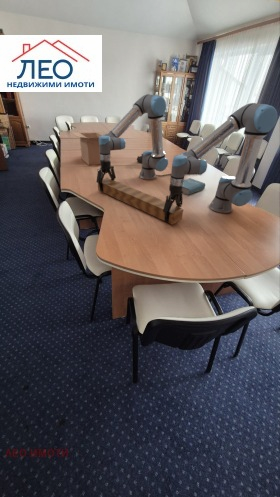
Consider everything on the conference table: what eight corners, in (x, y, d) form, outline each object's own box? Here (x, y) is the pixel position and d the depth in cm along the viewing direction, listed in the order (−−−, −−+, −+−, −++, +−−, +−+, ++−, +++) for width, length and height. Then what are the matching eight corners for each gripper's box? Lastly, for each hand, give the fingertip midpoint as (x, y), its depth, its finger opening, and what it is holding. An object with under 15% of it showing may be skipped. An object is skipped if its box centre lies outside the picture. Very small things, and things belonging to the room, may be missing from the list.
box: (116, 165, 229) (116, 136, 213) (83, 168, 214) (80, 137, 198) (102, 154, 259) (101, 128, 243) (71, 156, 244) (68, 129, 228)
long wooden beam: (98, 190, 172) (97, 180, 168) (107, 186, 178) (107, 177, 174) (172, 224, 135) (174, 214, 131) (181, 219, 141) (183, 208, 137)
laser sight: (156, 165, 238) (157, 155, 232) (135, 163, 241) (136, 153, 235) (157, 163, 245) (158, 153, 240) (137, 160, 248) (138, 151, 242)
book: (188, 183, 198) (190, 178, 195) (204, 189, 190) (205, 183, 187) (173, 189, 185) (174, 183, 182) (188, 195, 176) (190, 189, 173)
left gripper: (96, 164, 150) (98, 194, 164) (120, 158, 164) (120, 187, 177) (89, 161, 154) (92, 191, 167) (113, 156, 168) (114, 184, 181)
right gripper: (170, 191, 118) (165, 227, 131) (192, 181, 132) (185, 214, 145) (159, 187, 122) (155, 222, 135) (181, 178, 136) (176, 210, 149)
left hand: (106, 189), depth 172 cm, fingers closed on long wooden beam, 10 cm apart
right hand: (171, 218), depth 140 cm, fingers closed on long wooden beam, 10 cm apart
